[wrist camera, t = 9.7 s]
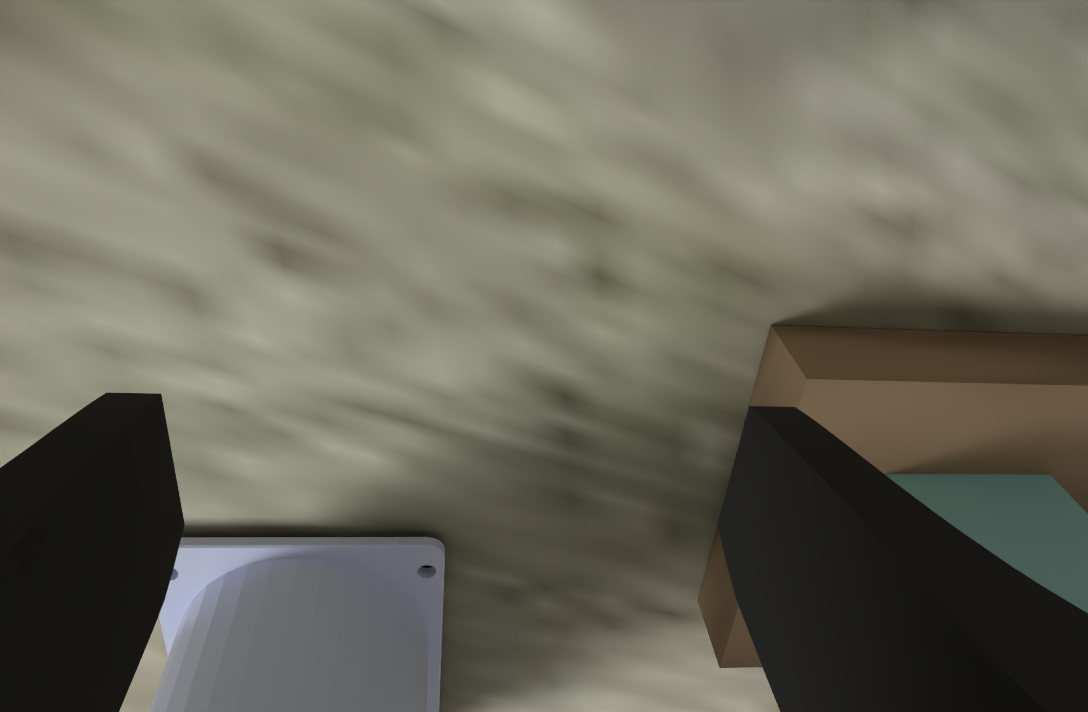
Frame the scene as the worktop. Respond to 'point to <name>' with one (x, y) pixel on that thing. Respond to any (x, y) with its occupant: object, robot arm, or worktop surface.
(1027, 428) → the walnut block
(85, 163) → the worktop surface
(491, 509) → the worktop surface
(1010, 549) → the teal cube
